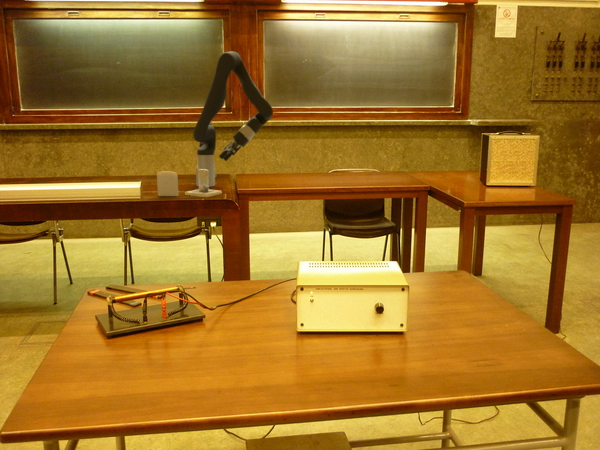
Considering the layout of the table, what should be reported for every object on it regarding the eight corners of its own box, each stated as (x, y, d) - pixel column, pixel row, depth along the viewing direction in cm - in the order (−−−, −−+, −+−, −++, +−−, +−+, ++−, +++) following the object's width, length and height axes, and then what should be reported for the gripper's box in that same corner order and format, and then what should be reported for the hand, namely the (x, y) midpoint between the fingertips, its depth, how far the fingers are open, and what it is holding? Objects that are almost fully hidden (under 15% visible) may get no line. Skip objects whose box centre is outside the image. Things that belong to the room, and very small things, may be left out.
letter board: (185, 195, 292) (185, 191, 291) (201, 191, 303) (201, 188, 303) (205, 197, 286) (205, 194, 285) (221, 193, 297) (221, 190, 296)
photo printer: (156, 196, 287) (155, 171, 284) (159, 195, 291) (158, 170, 288) (177, 196, 286) (176, 171, 284) (179, 195, 291) (178, 170, 288)
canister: (196, 191, 293) (196, 169, 291) (202, 190, 297) (202, 168, 295) (204, 192, 291) (204, 170, 288) (210, 190, 295) (210, 169, 293)
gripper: (235, 129, 300) (213, 152, 299) (242, 131, 287) (220, 155, 286) (245, 139, 303) (224, 162, 302) (253, 141, 290) (231, 165, 289)
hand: (222, 158), depth 294 cm, fingers open, 8 cm apart
